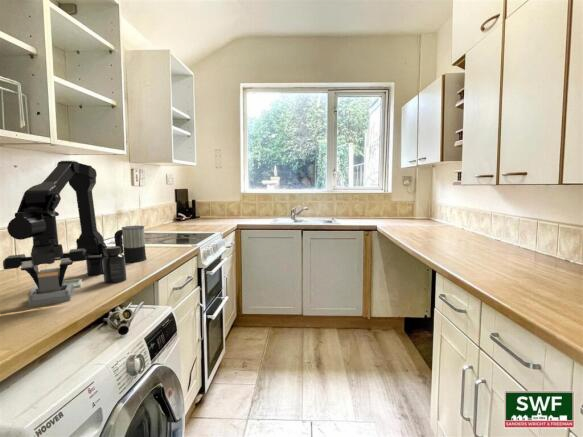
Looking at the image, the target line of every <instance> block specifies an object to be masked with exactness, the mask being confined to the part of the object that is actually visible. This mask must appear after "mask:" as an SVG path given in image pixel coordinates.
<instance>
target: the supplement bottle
mask: <svg viewBox="0 0 583 437" xmlns="http://www.w3.org/2000/svg"><path fill="white" fill-rule="evenodd" d="M120 252H121V247H119V246H116V245H115V246H107V248H105V254H106V256H104V257H103V259H102V264H103V282H104V284H107V285H108V284H110V285H111V284H112V285H113V284H118V283H122V282H125V281H127V268H126V267H127V266H126V262H125V257H124V254H123V253H122V254H120Z"/></svg>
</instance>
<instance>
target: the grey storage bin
mask: <svg viewBox="0 0 583 437" xmlns="http://www.w3.org/2000/svg"><path fill="white" fill-rule="evenodd" d="M31 290H32V289H31ZM31 290H30V291H31ZM74 290H75V288H74V284H73V285H71V284H64V282H63V283H62V286H61V290H60V291H55V292H48V293H41V294H40V290H39V289H38V288H35V289H33V290H32V291H31V293H30V292H29V294H28V296H27V298H28V299H27V300H28V301H27V307H28V308H31V307H32V308H33V307H36V306H37V307H38V306H43V305H44V306H45V305H50V304H55V303H63V302H69V301H71V299H72V296H73V293H74Z"/></svg>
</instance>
